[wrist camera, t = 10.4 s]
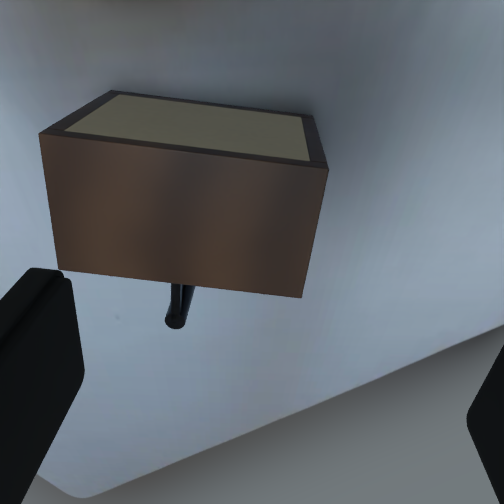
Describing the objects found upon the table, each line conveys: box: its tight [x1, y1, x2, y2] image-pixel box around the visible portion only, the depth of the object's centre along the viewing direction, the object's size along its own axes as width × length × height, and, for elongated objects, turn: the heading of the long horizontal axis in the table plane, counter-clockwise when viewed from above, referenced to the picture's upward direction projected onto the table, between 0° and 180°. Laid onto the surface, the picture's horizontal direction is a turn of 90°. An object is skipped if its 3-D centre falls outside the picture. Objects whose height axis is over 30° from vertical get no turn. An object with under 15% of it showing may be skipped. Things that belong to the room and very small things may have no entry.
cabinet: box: [38, 90, 329, 298], centre depth 31 cm, size 16×9×12 cm, turn 84°
